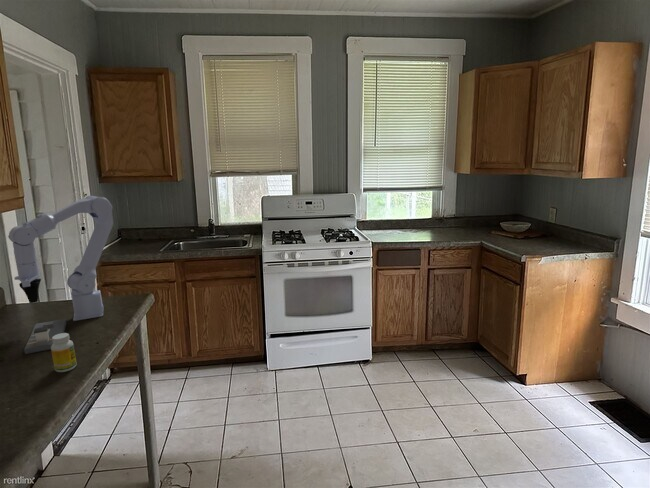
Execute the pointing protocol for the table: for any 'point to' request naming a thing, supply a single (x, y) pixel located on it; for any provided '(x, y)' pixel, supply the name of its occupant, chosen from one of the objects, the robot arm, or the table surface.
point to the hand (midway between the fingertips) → (34, 301)
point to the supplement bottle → (63, 353)
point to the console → (34, 346)
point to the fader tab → (41, 334)
